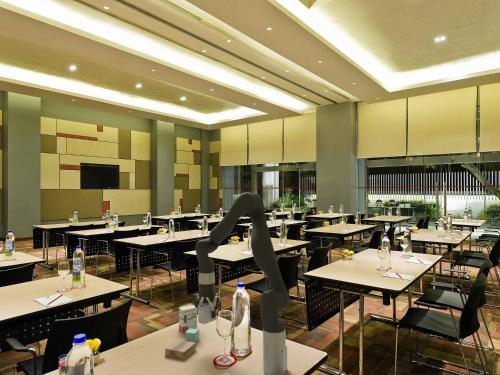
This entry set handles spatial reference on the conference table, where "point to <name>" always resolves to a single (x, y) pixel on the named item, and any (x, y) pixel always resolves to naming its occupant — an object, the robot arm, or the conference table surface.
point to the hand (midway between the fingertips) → (207, 317)
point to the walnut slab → (180, 349)
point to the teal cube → (192, 335)
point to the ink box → (187, 318)
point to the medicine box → (205, 313)
